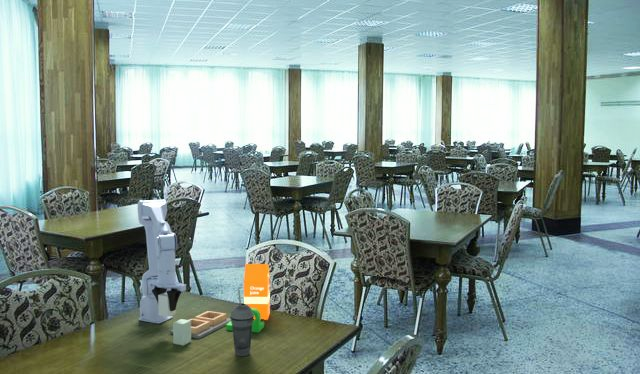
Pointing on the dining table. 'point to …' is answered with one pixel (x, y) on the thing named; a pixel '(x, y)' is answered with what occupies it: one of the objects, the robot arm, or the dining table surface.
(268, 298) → the orange juice
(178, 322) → the sage block
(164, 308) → the grey-green rectangular block
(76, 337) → the dining table surface
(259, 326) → the mechanical part
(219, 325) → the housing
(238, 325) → the beverage cup
